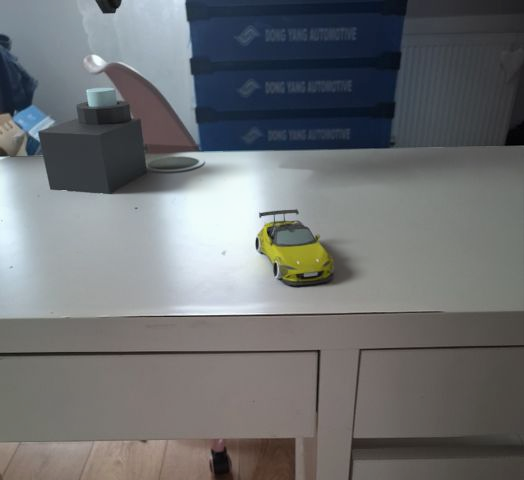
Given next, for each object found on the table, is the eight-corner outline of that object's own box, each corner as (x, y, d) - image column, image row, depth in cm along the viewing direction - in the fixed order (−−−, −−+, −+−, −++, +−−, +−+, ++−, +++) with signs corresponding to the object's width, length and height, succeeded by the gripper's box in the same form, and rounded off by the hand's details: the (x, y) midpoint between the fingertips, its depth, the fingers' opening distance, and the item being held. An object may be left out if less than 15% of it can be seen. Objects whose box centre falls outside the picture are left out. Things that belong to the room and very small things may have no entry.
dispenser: (109, 194, 65) (97, 116, 60) (50, 189, 67) (33, 114, 62) (151, 170, 74) (144, 101, 70) (98, 166, 76) (87, 99, 71)
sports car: (280, 289, 43) (280, 253, 41) (251, 243, 51) (250, 211, 50) (341, 282, 44) (344, 246, 42) (303, 238, 52) (304, 206, 51)
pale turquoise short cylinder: (109, 110, 66) (106, 91, 65) (83, 109, 67) (80, 90, 66) (122, 105, 69) (120, 87, 68) (98, 105, 70) (95, 87, 69)
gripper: (76, -137, 67) (38, -19, 64) (177, -146, 64) (143, -21, 60) (105, -78, 74) (72, 32, 71) (197, -83, 71) (168, 32, 68)
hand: (105, 7), depth 66 cm, fingers closed
